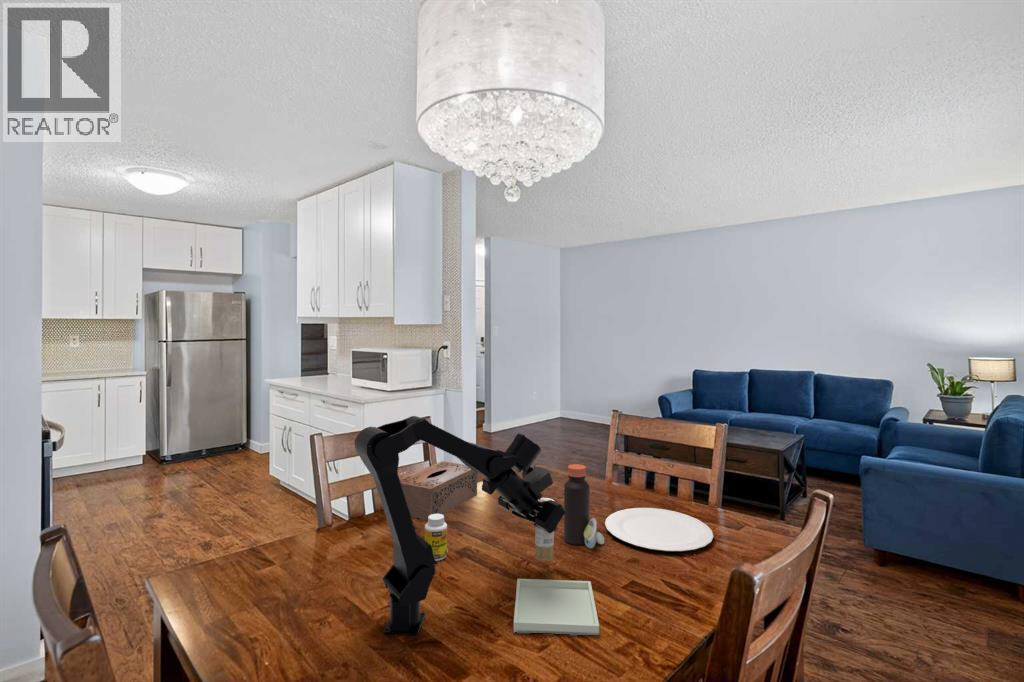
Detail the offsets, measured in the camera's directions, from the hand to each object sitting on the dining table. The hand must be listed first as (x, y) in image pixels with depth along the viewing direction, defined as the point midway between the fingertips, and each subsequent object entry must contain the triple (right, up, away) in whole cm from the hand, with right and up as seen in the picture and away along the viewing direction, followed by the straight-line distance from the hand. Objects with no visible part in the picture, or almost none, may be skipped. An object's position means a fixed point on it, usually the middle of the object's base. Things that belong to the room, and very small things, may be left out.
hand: (549, 526), depth 115 cm
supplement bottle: (-28, -11, +7) cm, 31 cm away
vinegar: (+9, -10, +17) cm, 22 cm away
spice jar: (-1, -7, -1) cm, 7 cm away
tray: (0, -11, -15) cm, 19 cm away
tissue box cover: (-33, -10, +44) cm, 56 cm away
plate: (+32, -11, +23) cm, 41 cm away
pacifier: (+11, -6, +13) cm, 18 cm away
